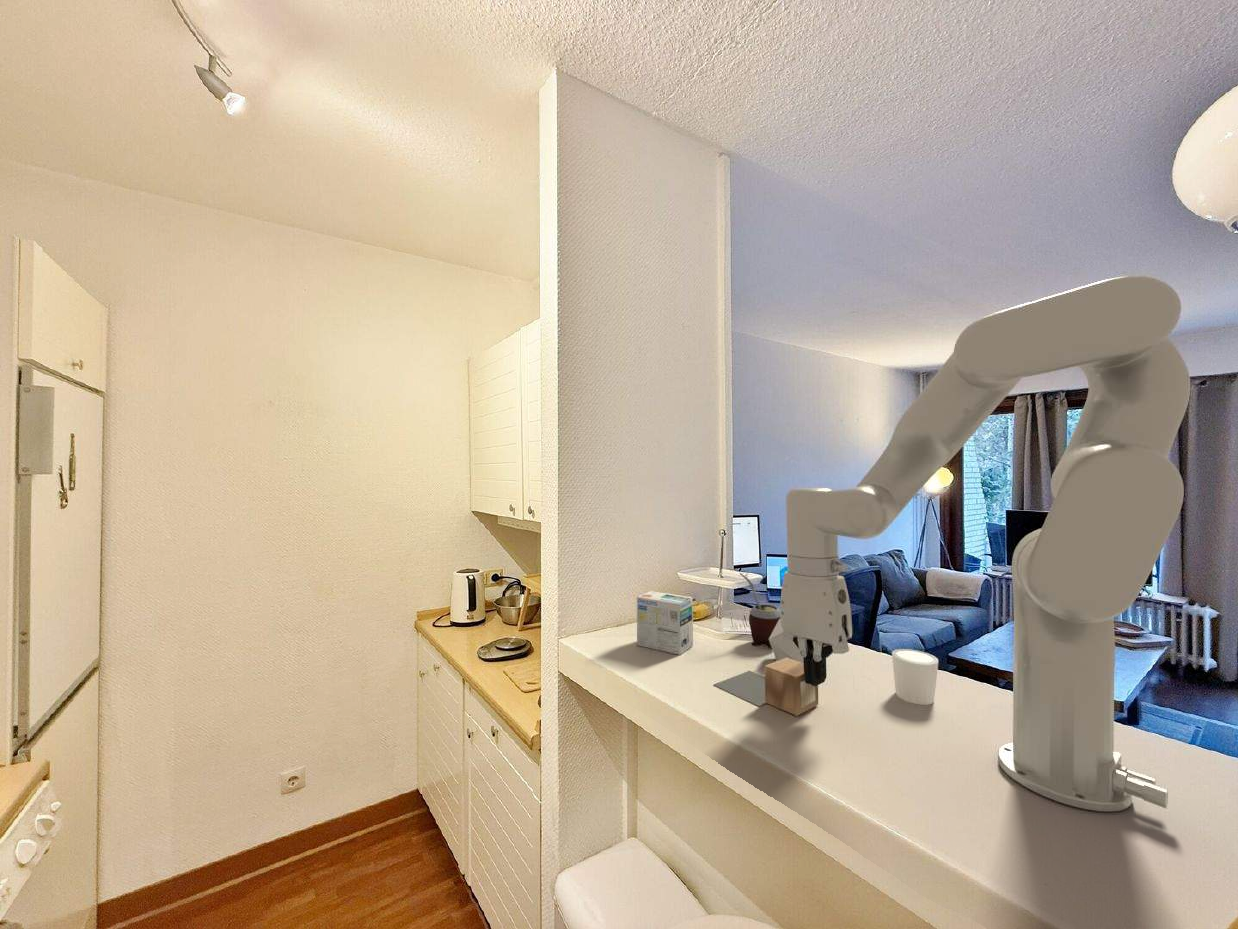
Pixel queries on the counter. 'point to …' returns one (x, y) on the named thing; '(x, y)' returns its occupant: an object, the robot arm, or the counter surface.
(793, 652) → the die
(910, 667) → the white cylinder
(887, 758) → the counter surface
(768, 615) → the mate gourd
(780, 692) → the walnut block
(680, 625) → the light bulb box
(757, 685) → the mat
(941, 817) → the counter surface
